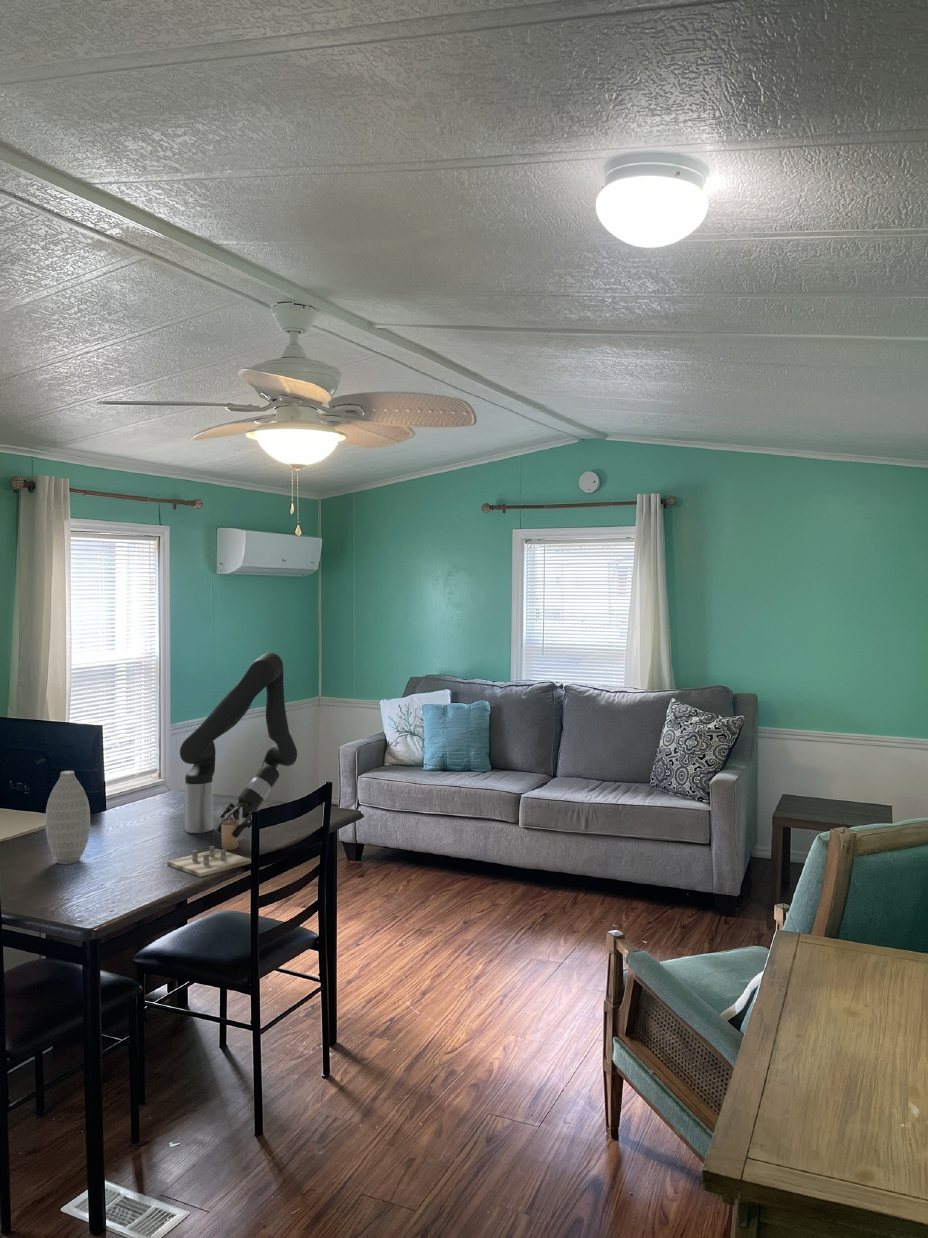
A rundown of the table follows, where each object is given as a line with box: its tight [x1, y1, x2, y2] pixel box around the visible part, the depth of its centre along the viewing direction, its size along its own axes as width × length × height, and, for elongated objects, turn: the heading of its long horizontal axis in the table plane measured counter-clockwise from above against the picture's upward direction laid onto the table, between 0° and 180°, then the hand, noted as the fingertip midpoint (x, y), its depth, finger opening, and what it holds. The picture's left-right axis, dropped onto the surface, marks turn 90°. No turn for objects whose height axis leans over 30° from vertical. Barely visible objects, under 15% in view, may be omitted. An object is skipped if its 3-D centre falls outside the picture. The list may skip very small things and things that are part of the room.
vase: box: [45, 770, 91, 865], centre depth 283 cm, size 13×13×28 cm
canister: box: [220, 818, 239, 851], centre depth 298 cm, size 5×5×9 cm
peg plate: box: [166, 845, 252, 878], centre depth 280 cm, size 18×18×4 cm
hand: (226, 834), depth 297 cm, fingers open, 8 cm apart
